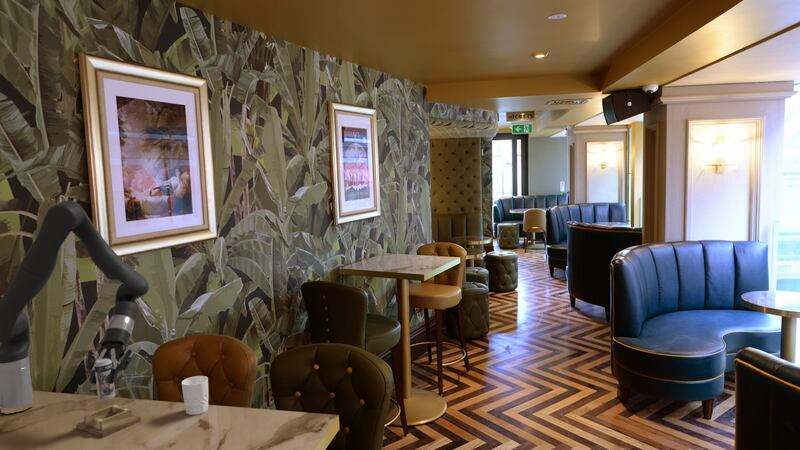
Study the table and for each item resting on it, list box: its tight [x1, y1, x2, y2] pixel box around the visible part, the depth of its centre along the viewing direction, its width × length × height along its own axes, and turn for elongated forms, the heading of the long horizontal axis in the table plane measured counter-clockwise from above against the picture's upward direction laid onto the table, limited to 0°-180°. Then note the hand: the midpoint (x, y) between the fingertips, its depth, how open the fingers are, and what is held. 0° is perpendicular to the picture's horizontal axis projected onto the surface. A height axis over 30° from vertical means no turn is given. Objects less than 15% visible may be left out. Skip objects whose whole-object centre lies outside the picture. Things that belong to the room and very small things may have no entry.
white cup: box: [181, 375, 209, 416], centre depth 175 cm, size 8×8×10 cm
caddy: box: [75, 404, 142, 438], centre depth 168 cm, size 14×12×4 cm
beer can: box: [94, 358, 116, 402], centre depth 167 cm, size 5×5×12 cm
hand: (101, 383), depth 165 cm, fingers closed on beer can, 4 cm apart
